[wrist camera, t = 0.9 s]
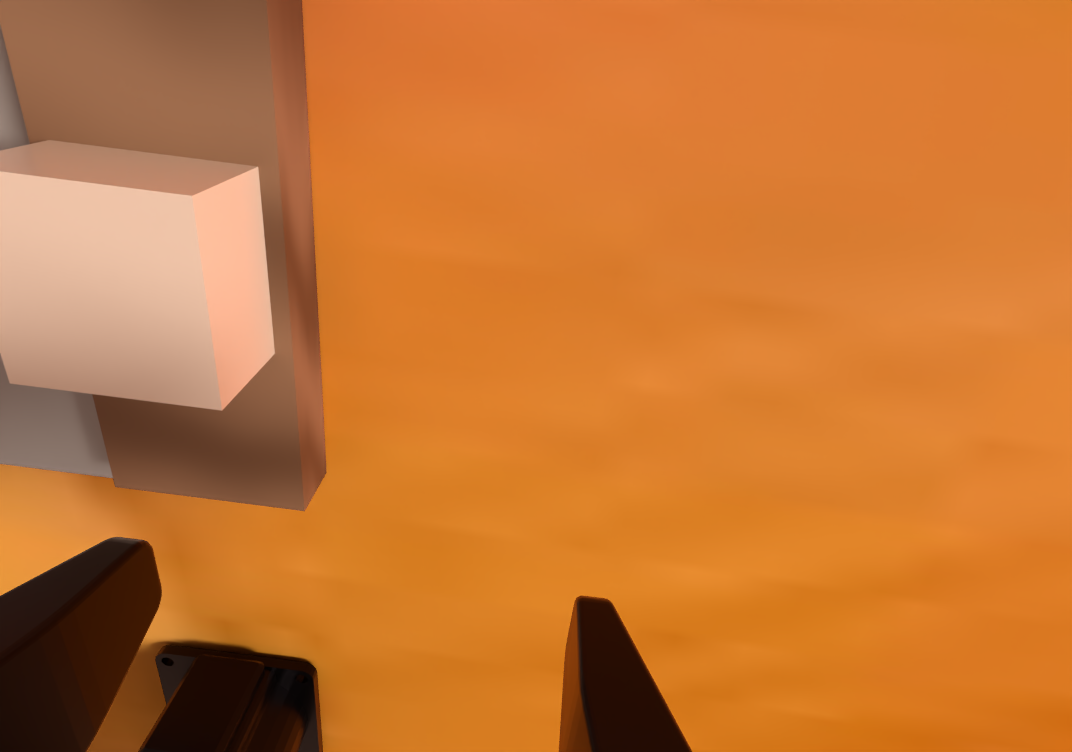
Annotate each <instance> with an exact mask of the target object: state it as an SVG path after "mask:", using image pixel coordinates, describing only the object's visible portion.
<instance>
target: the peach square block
mask: <svg viewBox="0 0 1072 752" xmlns="http://www.w3.org/2000/svg"><path fill="white" fill-rule="evenodd" d="M0 354H1V357H2V360H3V364H4V367H5V370H6V373H7V376H8V379H9V383H10V384H18V385H26V386H33V387H41V388H49V389H57V390H65V391H73V392H80V393H88V394H96V395H104V396H112V397H120V398H127V399H135V400H143V401H151V402H159V403H167V404H174V405H182V406H190V407H198V408H206V409H213V410H221V411H222V410H223V409H224V408H225V407H226V406H227V405H228V404H229V403H230V402H231V400H232V399H233V398H234V397H235V396H236V395H237V394H238V393H239V392H240V391H241V390H242V389H243V387H244V386H245V385H246V384H247V383H248V382H249V381H250V380H251V379H252V378H253V377H254V376H255V375H256V373H257V372H258V371H259V370H260V369H261V368H262V367H263V366H264V365H265V364H266V363H267V362H268V361H269V359H270V358H271V357H272V356H273V355H274V354H275V349H274V338H273V327H272V316H271V304H270V293H269V282H268V271H267V260H266V249H265V237H264V226H263V215H262V204H261V193H260V181H259V170H258V167H257V166H249V165H242V164H234V163H226V162H218V161H210V160H202V159H195V158H187V157H179V156H171V155H163V154H155V153H148V152H140V151H132V150H124V149H116V148H108V147H101V146H93V145H85V144H77V143H69V142H62V141H54V140H47V141H42V142H37V143H33V144H28V145H24V146H19V147H15V148H10V149H6V150H1V151H0Z"/></svg>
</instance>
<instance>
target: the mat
mask: <svg viewBox="0 0 1072 752" xmlns="http://www.w3.org/2000/svg"><path fill="white" fill-rule="evenodd" d="M28 144H30V142H29V138H28V134H27V130H26V126H25V122H24V118H23V114H22V110H21V106H20V102H19V98H18V94H17V90H16V85H15V81H14V77H13V73H12V69H11V65H10V61H9V57H8V53H7V49H6V45H5V41H4V37H3V33H2V29H1V25H0V151H1V150H6V149H10V148H15V147H19V146H24V145H28ZM0 464H6V465H14V466H22V467H30V468H38V469H45V470H53V471H61V472H69V473H77V474H85V475H92V476H100V477H108V478H113V476H112V472H111V468H110V464H109V460H108V456H107V452H106V448H105V444H104V440H103V436H102V432H101V428H100V424H99V420H98V416H97V412H96V408H95V404H94V400H93V396H92V394H88V393H80V392H73V391H65V390H57V389H49V388H41V387H33V386H26V385H18V384H10V383H9V379H8V376H7V373H6V370H5V367H4V364H3V360H2V357H1V354H0Z"/></svg>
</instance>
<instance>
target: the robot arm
mask: <svg viewBox="0 0 1072 752" xmlns="http://www.w3.org/2000/svg"><path fill="white" fill-rule="evenodd" d="M161 595H162V589H161V583H160V579H159V574H158V570H157V565H156V561H155V557H154V552H153V549H152V546H151V545H150V544H149V543H148V542H147V541H144V540H138V539H130V538H123V537H113V538H109V539H107V540H105V541H103V542H101V543H99V544H97V545H95V546H93V547H91V548H89V549H88V550H86V551H84V552H82V553H80V554H78V555H76V556H74V557H73V558H71V559H69V560H67V561H65V562H63V563H61V564H59V565H58V566H56V567H54V568H52V569H50V570H48V571H46V572H44V573H43V574H41V575H39V576H37V577H35V578H33V579H31V580H29V581H27V582H26V583H24V584H22V585H20V586H18V587H16V588H14V589H12V590H11V591H9V592H7V593H5V594H3V595H1V596H0V752H86V751H87V749H88V747H89V746H90V744H91V742H92V740H93V739H94V737H95V735H96V734H97V732H98V730H99V728H100V726H101V724H102V722H103V720H104V718H105V716H106V714H107V713H108V710H109V708H110V706H111V704H112V702H113V700H114V698H115V696H116V694H117V692H118V690H119V688H120V686H121V684H122V682H123V680H124V678H125V676H126V674H127V672H128V670H129V667H130V665H131V663H132V661H133V659H134V657H135V655H136V653H137V651H138V649H139V647H140V645H141V643H142V641H143V639H144V637H145V635H146V633H147V631H148V629H149V627H150V624H151V622H152V620H153V618H154V616H155V614H156V612H157V610H158V608H159V604H160V601H161ZM156 664H157V668H158V672H159V676H160V680H161V684H162V688H163V692H164V696H165V700H166V704H167V705H166V707H165V708H164V710H163V712H162V713H161V715H160V716H159V718H158V720H157V721H156V723H155V725H154V726H153V728H152V730H151V731H150V733H149V735H148V736H147V738H146V739H145V741H144V743H143V744H142V746H141V748H140V749H139V751H138V752H323V745H322V731H321V718H320V704H319V691H318V677H317V670H316V668H315V667H314V666H313V665H311V664H309V663H305V662H298V661H290V660H282V659H274V658H266V657H259V656H251V655H243V654H235V653H227V652H219V651H212V650H204V649H196V648H188V647H180V646H172V645H166V646H164V647H162V649H161V650H160V652H159V653H158V655H157V656H156ZM559 752H692V750H691V749H690V747H689V745H688V743H687V741H686V739H685V737H684V736H683V734H682V732H681V730H680V728H679V726H678V724H677V723H676V721H675V719H674V717H673V715H672V713H671V711H670V710H669V708H668V706H667V704H666V702H665V700H664V698H663V697H662V695H661V693H660V691H659V689H658V687H657V685H656V684H655V682H654V680H653V678H652V676H651V674H650V672H649V670H648V669H647V667H646V665H645V663H644V661H643V659H642V657H641V656H640V654H639V652H638V650H637V648H636V646H635V644H634V643H633V641H632V639H631V637H630V635H629V633H628V631H627V630H626V628H625V626H624V624H623V622H622V620H621V618H620V617H619V615H618V613H617V611H616V609H615V607H614V606H613V604H612V603H611V601H609V600H608V599H605V598H597V597H589V596H579V597H577V598H576V600H575V603H574V607H573V612H572V618H571V623H570V628H569V633H568V638H567V643H566V651H565V662H564V678H563V694H562V710H561V725H560V741H559Z"/></svg>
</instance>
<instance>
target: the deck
mask: <svg viewBox="0 0 1072 752" xmlns="http://www.w3.org/2000/svg"><path fill="white" fill-rule="evenodd" d="M0 25H1V29H2V33H3V37H4V41H5V45H6V49H7V53H8V57H9V61H10V65H11V69H12V73H13V77H14V81H15V85H16V90H17V94H18V98H19V102H20V106H21V110H22V114H23V118H24V122H25V126H26V130H27V134H28V138H29V142H30V144H33V143H37V142H42V141H47V140H54V141H62V142H69V143H77V144H85V145H93V146H101V147H108V148H116V149H124V150H132V151H140V152H148V153H155V154H163V155H171V156H179V157H187V158H195V159H202V160H210V161H218V162H226V163H234V164H242V165H249V166H257V167H258V170H259V181H260V193H261V204H262V215H263V226H264V237H265V249H266V260H267V271H268V282H269V293H270V304H271V316H272V327H273V338H274V349H275V354H274V355H273V356H272V357H271V358H270V359H269V361H268V362H267V363H266V364H265V365H264V366H263V367H262V368H261V369H260V370H259V371H258V372H257V373H256V375H255V376H254V377H253V378H252V379H251V380H250V381H249V382H248V383H247V384H246V385H245V386H244V387H243V389H242V390H241V391H240V392H239V393H238V394H237V395H236V396H235V397H234V398H233V399H232V400H231V402H230V403H229V404H228V405H227V406H226V407H225V408H224V409H223V410H222V411H221V410H213V409H206V408H198V407H190V406H182V405H174V404H167V403H159V402H151V401H143V400H135V399H127V398H120V397H112V396H104V395H96V394H92V396H93V400H94V404H95V408H96V412H97V416H98V420H99V424H100V428H101V432H102V436H103V440H104V444H105V448H106V452H107V456H108V460H109V464H110V468H111V472H112V476H113V480H114V484H115V487H120V488H128V489H136V490H144V491H151V492H159V493H167V494H175V495H183V496H191V497H198V498H206V499H214V500H222V501H230V502H237V503H245V504H253V505H261V506H269V507H277V508H284V509H292V510H300V511H305V509H306V508H307V506H308V504H309V502H310V501H311V499H312V497H313V495H314V494H315V492H316V490H317V488H318V487H319V485H320V483H321V481H322V479H323V478H324V476H325V474H326V456H325V437H324V417H323V398H322V379H321V360H320V341H319V322H318V302H317V283H316V264H315V245H314V226H313V207H312V188H311V168H310V149H309V130H308V111H307V92H306V73H305V53H304V34H303V15H302V0H0Z"/></svg>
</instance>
